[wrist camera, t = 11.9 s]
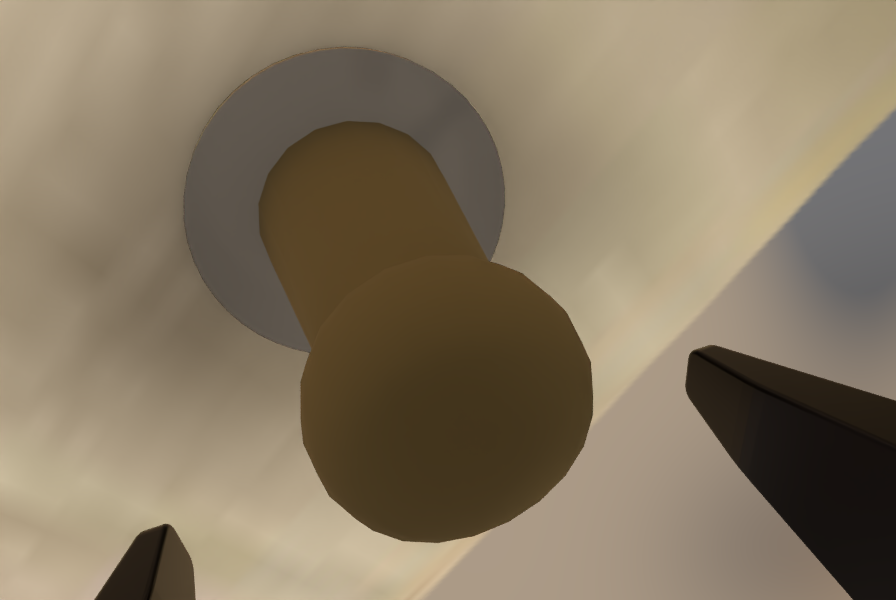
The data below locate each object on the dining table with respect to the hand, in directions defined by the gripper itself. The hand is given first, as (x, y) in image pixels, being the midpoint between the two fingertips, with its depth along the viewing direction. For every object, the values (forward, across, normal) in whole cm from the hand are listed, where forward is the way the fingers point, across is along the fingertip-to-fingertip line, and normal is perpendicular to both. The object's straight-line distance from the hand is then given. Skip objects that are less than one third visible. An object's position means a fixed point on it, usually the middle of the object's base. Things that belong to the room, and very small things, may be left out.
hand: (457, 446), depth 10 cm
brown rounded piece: (+10, 0, 0) cm, 11 cm away
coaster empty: (+11, 0, 0) cm, 11 cm away
